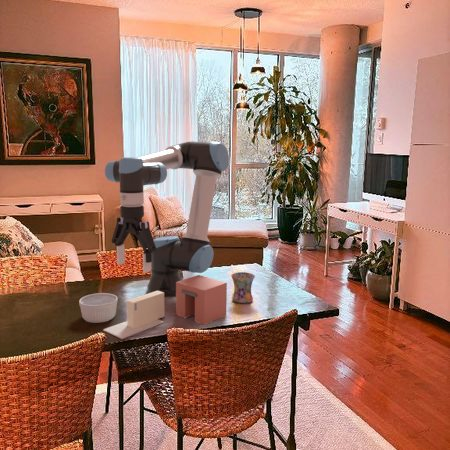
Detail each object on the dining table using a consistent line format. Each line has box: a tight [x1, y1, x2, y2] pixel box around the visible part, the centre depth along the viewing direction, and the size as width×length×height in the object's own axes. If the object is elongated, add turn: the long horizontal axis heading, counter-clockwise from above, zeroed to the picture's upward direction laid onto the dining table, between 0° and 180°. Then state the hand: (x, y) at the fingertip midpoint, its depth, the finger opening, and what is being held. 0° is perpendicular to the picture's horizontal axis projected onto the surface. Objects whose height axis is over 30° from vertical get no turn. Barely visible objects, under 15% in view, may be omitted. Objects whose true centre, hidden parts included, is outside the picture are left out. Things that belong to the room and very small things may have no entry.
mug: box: [230, 271, 256, 304], centre depth 181 cm, size 12×9×11 cm
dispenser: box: [175, 274, 228, 326], centre depth 164 cm, size 14×13×12 cm
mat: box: [103, 319, 165, 340], centre depth 154 cm, size 10×18×1 cm, turn 140°
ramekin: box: [78, 292, 118, 324], centre depth 161 cm, size 13×13×7 cm
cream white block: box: [126, 291, 166, 328], centre depth 157 cm, size 4×14×9 cm, turn 140°
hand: (133, 267), depth 151 cm, fingers open, 13 cm apart
